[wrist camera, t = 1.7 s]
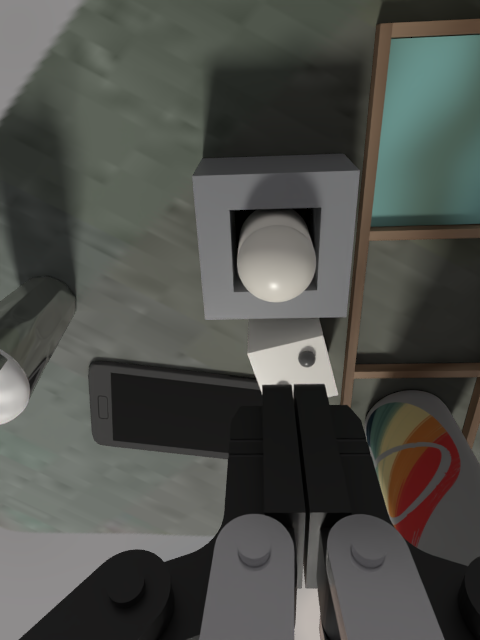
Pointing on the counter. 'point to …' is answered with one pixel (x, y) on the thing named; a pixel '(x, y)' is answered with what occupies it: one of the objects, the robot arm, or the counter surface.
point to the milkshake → (30, 338)
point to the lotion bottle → (426, 474)
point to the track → (419, 167)
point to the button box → (276, 193)
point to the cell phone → (166, 408)
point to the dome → (275, 254)
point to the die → (290, 352)
